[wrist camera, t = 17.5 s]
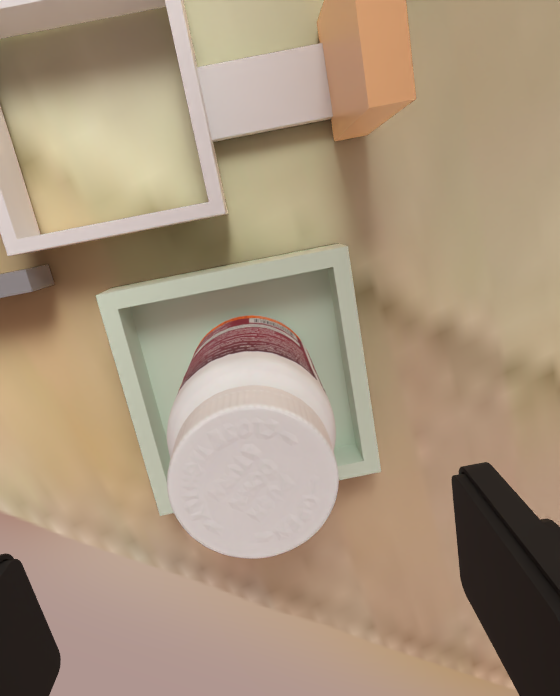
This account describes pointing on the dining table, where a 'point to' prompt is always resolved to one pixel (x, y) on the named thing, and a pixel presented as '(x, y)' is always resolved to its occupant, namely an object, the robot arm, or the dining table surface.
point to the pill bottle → (251, 442)
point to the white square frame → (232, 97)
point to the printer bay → (25, 280)
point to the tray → (228, 302)
